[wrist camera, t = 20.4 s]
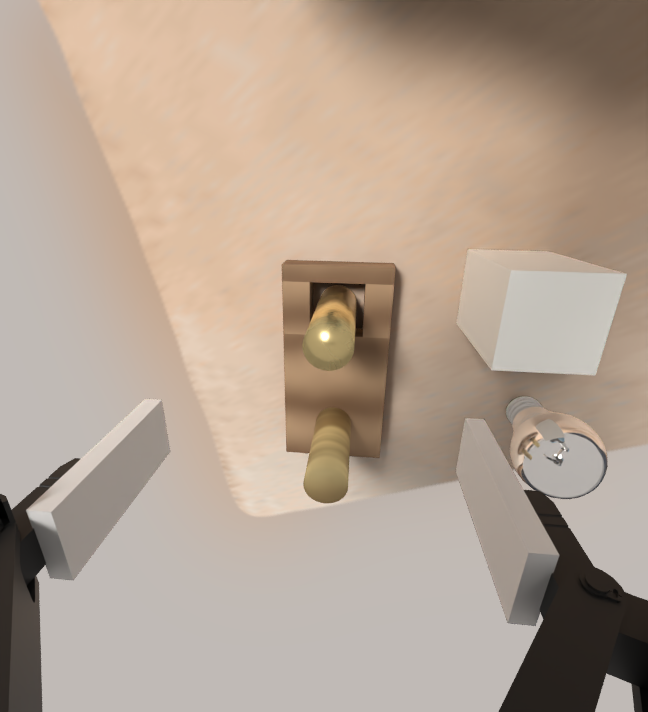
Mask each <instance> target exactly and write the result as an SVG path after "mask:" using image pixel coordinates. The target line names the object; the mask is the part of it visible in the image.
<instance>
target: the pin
mask: <svg viewBox="0 0 648 712" xmlns="http://www.w3.org/2000/svg"><path fill="white" fill-rule="evenodd" d="M355 323H356V298H355V295H354V293H353V292H352V291H351V290H350V289H349V288H347V287H345V286H342V285H333V286H330V287H328V288H327V289H326V290H325V291H324V292H323V293H322V295H321V297H320V300H319V302H318V304H317V307H316V309H315V312H314V314H313V317H312V319H311V322H310V324H309V326H308V329H307V331H306V334H305V336H304V339H303V344H302V348H303V353H304V356H305V357H306V359H307V360H308V362H309V363H310V364H311V365H313V366H314V367H316V368H318V369H320V370H324V371H334V370H338V369H340V368H342V367H344V366H345V365H346V364H348V363H349V361H350V360H351V358H352V356H353V353H354V344H355Z"/></svg>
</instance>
